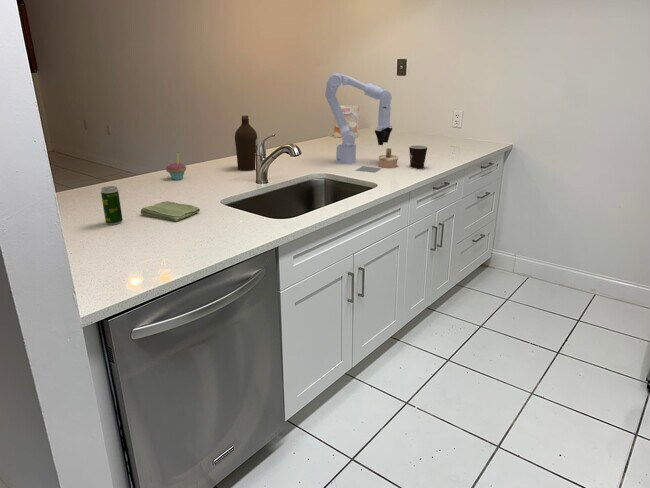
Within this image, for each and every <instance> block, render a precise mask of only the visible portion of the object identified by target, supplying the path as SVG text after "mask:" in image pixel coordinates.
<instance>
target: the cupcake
mask: <svg viewBox="0 0 650 488" xmlns="http://www.w3.org/2000/svg"><path fill="white" fill-rule="evenodd" d="M179 154H180V153H179V152H177V154H176V162H172V163H169V164H168V165H167V166H166V169H165V171H166V172H167V173H169V175H170V178H171V179H172V180H175V181H176V180H177V181H178V180H183V178H184V175H185V172H186V171H187V167H186V165H185V164H184V163H181V162H179V159H180V158H179V157H180V155H179Z"/></svg>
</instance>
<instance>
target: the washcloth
mask: <svg viewBox="0 0 650 488" xmlns="http://www.w3.org/2000/svg"><path fill="white" fill-rule="evenodd" d="M200 209H201V208H199V207H198V206H195V205H192V204H187V203H186V204H184V203H178V202H174V201H168V200H166V201H162V202H157V203H156V204H153V205H148V206H145V207H142V208H141V210H140V214H141V215H142V216H144V217H148V218H153V219H160V220H167V221H172V222H180V221H181V220H184V219H186V218H189V217H191V216H193V215H195V214H197V213H199V212H201V210H200Z"/></svg>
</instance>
